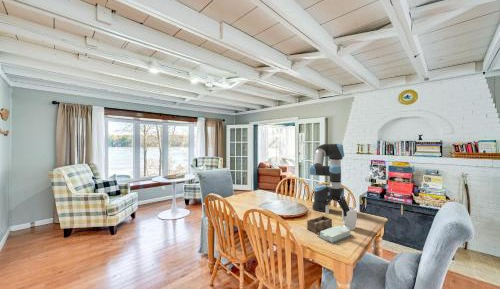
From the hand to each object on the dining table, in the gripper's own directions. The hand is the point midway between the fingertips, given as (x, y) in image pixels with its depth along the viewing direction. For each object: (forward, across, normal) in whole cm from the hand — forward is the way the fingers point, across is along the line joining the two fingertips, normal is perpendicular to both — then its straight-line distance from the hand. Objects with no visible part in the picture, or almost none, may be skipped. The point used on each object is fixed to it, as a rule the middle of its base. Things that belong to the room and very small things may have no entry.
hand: (335, 217), depth 145 cm
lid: (+13, 0, 0) cm, 13 cm away
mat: (+14, 0, 0) cm, 14 cm away
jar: (+14, -3, +20) cm, 25 cm away
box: (+14, -14, 0) cm, 19 cm away
